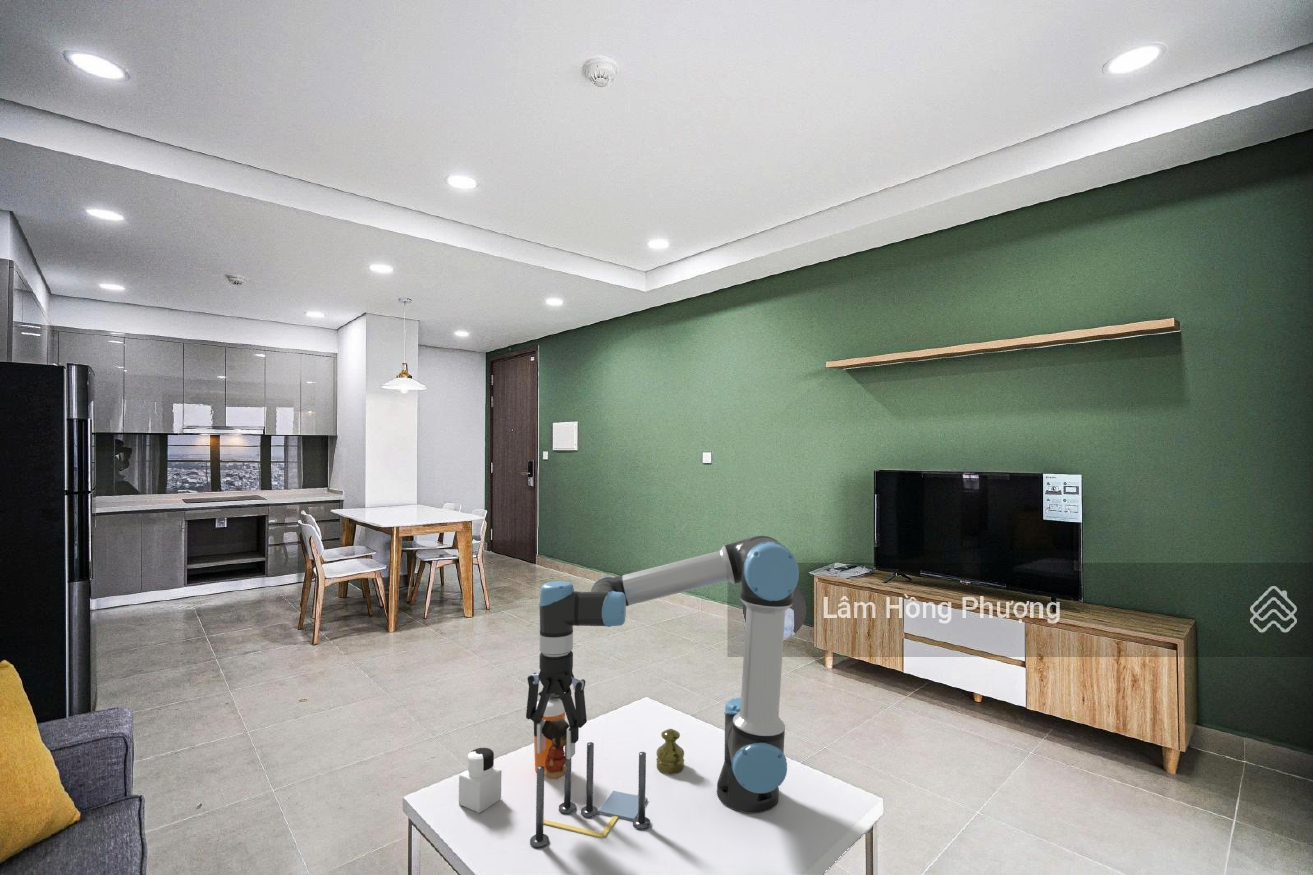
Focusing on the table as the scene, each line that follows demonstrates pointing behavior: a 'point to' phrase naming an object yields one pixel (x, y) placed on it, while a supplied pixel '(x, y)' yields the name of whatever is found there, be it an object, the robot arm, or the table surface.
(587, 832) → the guide line
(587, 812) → the gate
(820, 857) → the table surface
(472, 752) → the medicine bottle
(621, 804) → the pad
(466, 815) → the table surface
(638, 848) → the table surface
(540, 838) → the gate
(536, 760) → the shaker bottle
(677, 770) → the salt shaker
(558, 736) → the figurine
